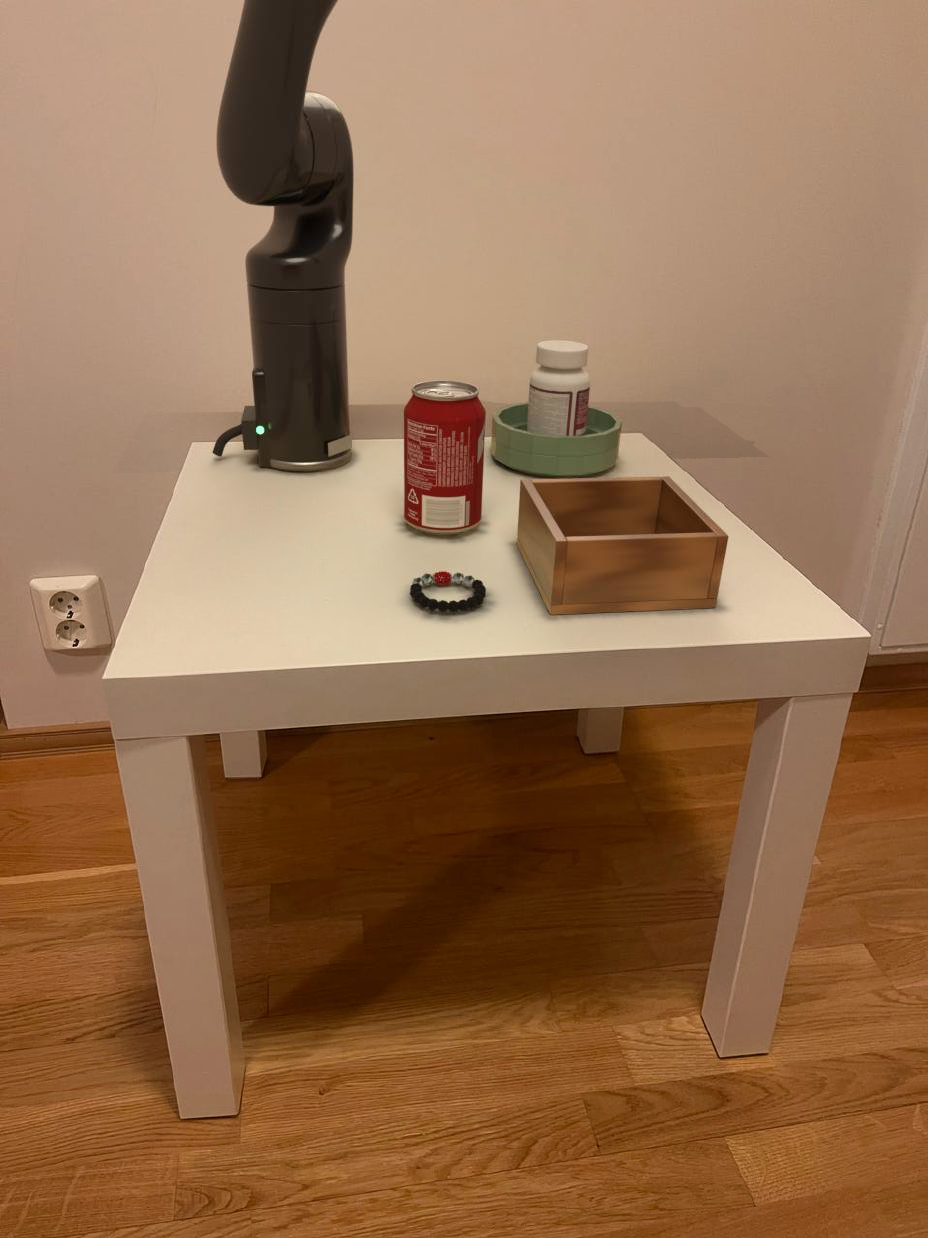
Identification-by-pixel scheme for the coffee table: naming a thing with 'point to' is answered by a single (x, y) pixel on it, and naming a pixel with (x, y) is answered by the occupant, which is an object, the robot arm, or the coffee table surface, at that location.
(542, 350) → the pill bottle
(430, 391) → the soda can
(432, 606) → the bracelet
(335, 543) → the coffee table surface
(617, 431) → the bowl
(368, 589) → the coffee table surface
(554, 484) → the holder
